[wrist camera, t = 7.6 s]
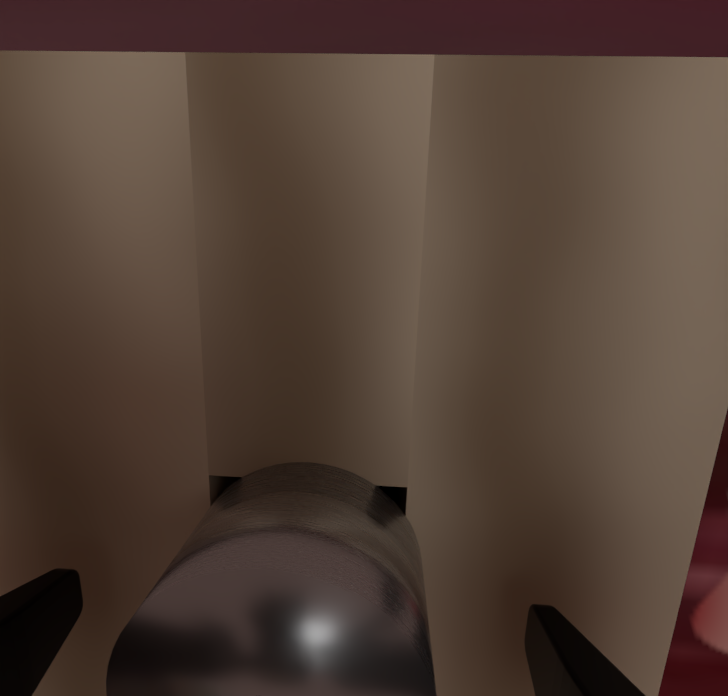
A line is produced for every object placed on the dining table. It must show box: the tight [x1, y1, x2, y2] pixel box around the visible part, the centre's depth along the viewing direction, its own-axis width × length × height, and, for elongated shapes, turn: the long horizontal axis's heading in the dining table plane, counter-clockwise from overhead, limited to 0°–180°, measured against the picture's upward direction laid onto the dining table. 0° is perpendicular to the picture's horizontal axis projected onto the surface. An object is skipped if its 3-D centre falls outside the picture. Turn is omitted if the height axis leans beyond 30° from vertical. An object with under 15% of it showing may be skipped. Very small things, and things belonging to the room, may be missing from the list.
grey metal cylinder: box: [106, 462, 437, 696], centre depth 10 cm, size 5×5×8 cm
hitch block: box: [0, 51, 728, 696], centre depth 12 cm, size 16×20×6 cm
